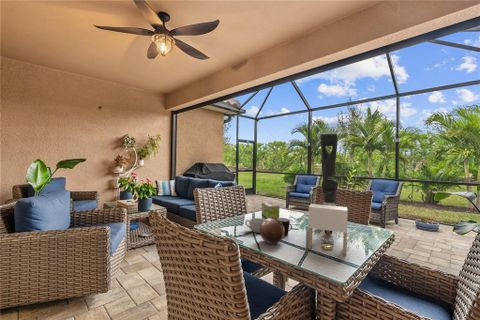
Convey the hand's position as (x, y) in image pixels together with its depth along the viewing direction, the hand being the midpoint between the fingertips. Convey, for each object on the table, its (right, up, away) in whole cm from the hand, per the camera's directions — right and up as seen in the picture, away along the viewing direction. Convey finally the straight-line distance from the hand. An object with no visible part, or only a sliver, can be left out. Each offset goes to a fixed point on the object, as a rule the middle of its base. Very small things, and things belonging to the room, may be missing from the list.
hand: (328, 233), depth 155 cm
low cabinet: (-10, -1, -24) cm, 26 cm away
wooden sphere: (-41, 0, -17) cm, 44 cm away
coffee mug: (-31, 0, -2) cm, 31 cm away
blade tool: (-3, -1, -7) cm, 7 cm away
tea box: (-36, 0, +28) cm, 46 cm away
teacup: (-50, 0, +4) cm, 50 cm away
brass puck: (-10, -1, -23) cm, 25 cm away
